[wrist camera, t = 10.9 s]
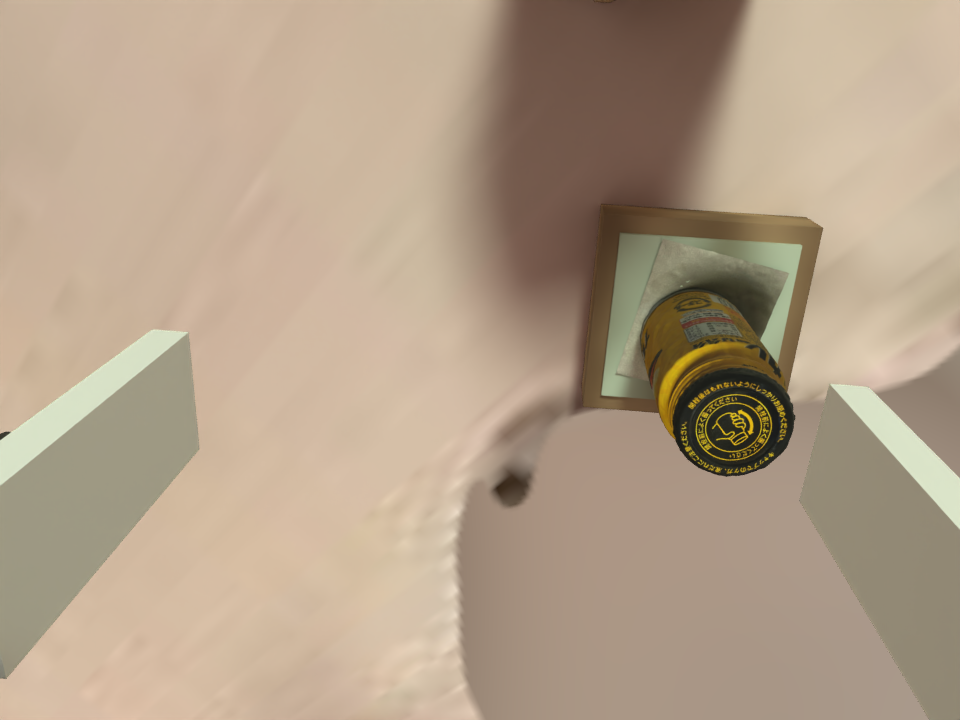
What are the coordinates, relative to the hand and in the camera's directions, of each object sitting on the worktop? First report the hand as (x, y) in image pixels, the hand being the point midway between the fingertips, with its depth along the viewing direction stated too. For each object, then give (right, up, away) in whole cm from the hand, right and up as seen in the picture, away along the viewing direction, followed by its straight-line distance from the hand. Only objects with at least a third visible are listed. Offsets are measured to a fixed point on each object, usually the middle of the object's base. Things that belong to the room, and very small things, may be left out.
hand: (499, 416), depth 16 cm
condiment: (+12, +3, +29) cm, 31 cm away
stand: (+12, +4, +31) cm, 34 cm away
